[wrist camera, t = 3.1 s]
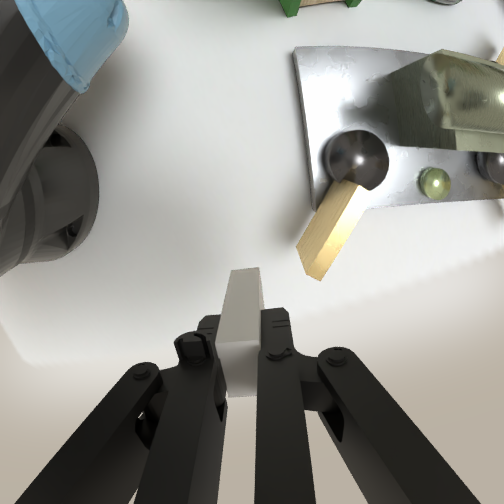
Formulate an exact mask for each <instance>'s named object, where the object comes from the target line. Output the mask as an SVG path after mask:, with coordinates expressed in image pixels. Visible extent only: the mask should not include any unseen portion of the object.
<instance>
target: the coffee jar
mask: <svg viewBox="0 0 504 504" xmlns="http://www.w3.org/2000/svg"><path fill="white" fill-rule="evenodd" d="M432 1H435V2H438V3H442V4H450V5H453V4H457V3H459V2H460V1H462V0H432Z"/></svg>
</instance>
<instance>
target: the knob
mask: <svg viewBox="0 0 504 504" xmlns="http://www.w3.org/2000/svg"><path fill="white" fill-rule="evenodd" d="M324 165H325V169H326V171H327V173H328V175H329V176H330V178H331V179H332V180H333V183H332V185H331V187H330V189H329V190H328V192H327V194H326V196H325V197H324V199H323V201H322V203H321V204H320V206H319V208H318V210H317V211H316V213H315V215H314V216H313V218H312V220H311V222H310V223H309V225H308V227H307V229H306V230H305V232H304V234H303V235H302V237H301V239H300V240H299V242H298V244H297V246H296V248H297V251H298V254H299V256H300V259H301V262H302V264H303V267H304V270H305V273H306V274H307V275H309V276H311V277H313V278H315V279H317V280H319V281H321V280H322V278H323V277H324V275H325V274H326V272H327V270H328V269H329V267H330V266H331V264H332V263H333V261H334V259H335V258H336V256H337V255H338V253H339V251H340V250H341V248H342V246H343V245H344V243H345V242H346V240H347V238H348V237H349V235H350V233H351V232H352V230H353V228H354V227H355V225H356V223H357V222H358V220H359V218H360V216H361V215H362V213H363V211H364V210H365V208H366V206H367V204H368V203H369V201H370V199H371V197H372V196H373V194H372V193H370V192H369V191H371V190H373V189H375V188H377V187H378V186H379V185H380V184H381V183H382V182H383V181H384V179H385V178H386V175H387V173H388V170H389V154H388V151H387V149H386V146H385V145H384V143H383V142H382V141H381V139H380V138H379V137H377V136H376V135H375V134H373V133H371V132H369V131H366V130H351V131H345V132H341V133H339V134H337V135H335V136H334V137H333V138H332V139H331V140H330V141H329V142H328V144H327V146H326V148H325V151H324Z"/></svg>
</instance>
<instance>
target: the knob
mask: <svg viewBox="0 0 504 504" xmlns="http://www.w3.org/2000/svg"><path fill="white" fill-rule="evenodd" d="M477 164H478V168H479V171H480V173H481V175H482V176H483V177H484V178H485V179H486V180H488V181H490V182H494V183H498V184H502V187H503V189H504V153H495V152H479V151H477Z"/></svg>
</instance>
